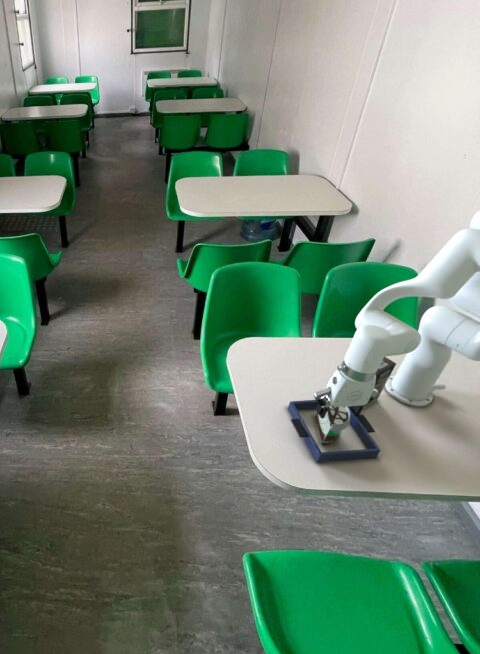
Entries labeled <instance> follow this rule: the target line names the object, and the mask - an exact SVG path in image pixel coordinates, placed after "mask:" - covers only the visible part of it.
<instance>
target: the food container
mask: <svg viewBox="0 0 480 654" xmlns="http://www.w3.org/2000/svg"><path fill="white" fill-rule="evenodd" d="M328 401H329V400H328V398H327V399H326V400H324V402H325V403H326V402H328ZM327 408H328V410H327V413H326V415H325V417H324V418H321V417H320V416H319V414H318V413H317V412H315V415H314V423H315V425H316V430H317V433H318V437H319V440H320V444H321V445H331V444H333V443H334V442H335V441H336V440H337V438H338V437H339V436H340V434H341V433H342V431H343V430H345V429H347V428H348V427H349V425H351V424H350V418H351V415H350V411H349V408H348V407H347V406H344V407H336V406H332V405H330V406H328V407H327Z"/></svg>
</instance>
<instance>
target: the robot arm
mask: <svg viewBox="0 0 480 654" xmlns="http://www.w3.org/2000/svg"><path fill="white" fill-rule="evenodd" d="M407 297H409V298H411V297H419V298H421V297H422V298H431V299H438V300H439V299H440V300H447V301H448V302H449V303H450V304H451V305H453V306H455V307H457V308H459V309H461V310H463V311H465V312H467V313H469V314H471V315H473V316H474V317H477V318H479V319H480V210H478V211H477V212H476V213H474V215H473V216H472V218H471V220H470V222H469V228H464V229H461V230H459V231H457V232H456V233H455V234H454V235H453V236H452V237H451V238H450V239H449V240H448V241H447V242H446V243H445V245H444V246H443V247H442V248H441V249H440V250H439V252H437V254H436V255H435V256H434V257H433V258H432V259H431V261H429V262H428V263H427V265H426V266H425V267H424V268H423V269H422V270H421V271H420V273H419V274H418V275H417V276H416V277H414V278H410V279H407V280H402V281H399V282H397V283H394V284H391V285H389V286H386V287H385V288H383V289H381V290H380V291H378V292H377V293H375V295H373V297H372V298H370V300H369V301H368V302H367V303H366V304H365V305H364V306H363V308H362V309H361V310H360V311H359V313H358V314H357V316H356V317H355V321H354V325H355V326H354V327H355V329H356V330H355V332H354V335H353V337H352V339H351V342H350V343H349V347H348V348H347V351H346V353H345V356H344V358H343V360H342V362H341V364H340V365H338V366H337V367H336V370H335V371H334V373H333V374H332V376H331V378H330V379H329V380H328V383H327V384H326V387H325V388H324V389H320V390H318V391H315V392H313V398H314V400H316V401H317V403H318V406H317V409H315V411H316V412H317V413H318V414H319V416H320V417H321V418H324V417H325V415H326V413H327V410H328V408H327V407H328V406H330V405H332V406H336V407H344V406H350V410H351V411H352V412H353V414H354V415H355V416H356V417H358V416H359V415H360V414H361V412H362V411H363V410H364V408H363V407H364V406H367V403H368V402H370V401H372V400H373V398H375V397H376V396H377V395H378V394H379V392H378V391H377V390H376V389H374V387H375V382H376V375H375V374H376V372H377V370H378V368H379V366H380V364H381V362H382V360H383V358H384V357H393V356H401V355H405V357H404V358H403V361H402V362H401V365H400V366H399V368H398V370H397V371H396V374H393V375H392V374H391V375H390V377H389V379H388V380H387V382H386V384H385V386H384V388H385V389H386V391H387V392H388V393H389V395H390V396H392V397H393V398H394V399H395V400H397V401H399V402H400V403H403V404H406V405H408V406H413V407H426V406H428V405H429V404H431V403H432V401H433V400H434V395H433V392H434V391H436V390H445V389H446V384H445V383H443V382H440V383H437V381H438V379H439V378H440V377H441V374H442V373H443V372H444V370H445V368H446V367H447V365H448V364H449V362H450V361H451V358H452V354H453V353H452V351H454V352H456V353H458V354H459V355H461V356H463V357H465V358H467V359H469V360H471V361H473V362H480V321H478V320H476V319H475V318H472V317H471V316H469V315H467V314H464V313H463V312H461V311H458V310H457V309H454V308H453V307H449V306H446V305H434V306H432V307H430V308H428V309H427V310H426V311H425V312H424V313H423V315H422V316H421V318H420V322H419V326H418V329H415V328H414V327H413V326H411V325H409V324H407V323H405V322H403V321H402V320H400V319H398V318H397V317H395V316H393V315H392V314H390V313H388V312H386V311H384V310H385V309H386V307H388V305H390V304H391V303H393V302H394V301H397V300H399V299H404V298H407ZM327 398H328V400H329V401H328V402H326V403H325V402H324V400H326V399H327ZM367 407H368V406H367ZM316 412H315V413H316Z"/></svg>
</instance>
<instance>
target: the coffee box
mask: <svg viewBox="0 0 480 654" xmlns="http://www.w3.org/2000/svg"><path fill="white" fill-rule="evenodd" d="M396 366H397V363H396V362H394V361H393V360H392V359H390V358H388V357H387V356H385V357H384V358H383V360H382V362H381V364H380V366H379V368H378V370H377V372H376V374H375V375H376V382H375V387H374V389H376V390H377V391H378V392H379V394H378V395H377V396H376V397H375V398H373V400H372V401H370V402H368V403H367V406H364V407H363V409H365V408H367V407H368V406H370V405H372V404H374V403H375V402H377V401H378V400H379V398H380V395H381V393H382V392H383V390H384V388H385V384H386V382H387V380H388V379H389V377H390V376H392V373H393V371H394V369H395V367H396Z"/></svg>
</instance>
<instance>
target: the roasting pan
mask: <svg viewBox="0 0 480 654" xmlns="http://www.w3.org/2000/svg"><path fill="white" fill-rule="evenodd" d="M317 406H318V403H317V401H316V400H315V399H307V400H306V399H305V400H292V401H291V400H290V401H289V403H288V405H287V411H288V412H289V414H290V417H291V419H290V422H291V425H293V428H294V429H295V431H296V433H297V435H298V437H299V438H302V439H303V441H304V442H305V444H306V446H307V448H308V449H309V452H310V453H311V455H312V458H313V459H314V460H315V462H316V463H328V462H343V461H358V460H370V459H371V460H372V459H377V458H378V456H379V454H380V452H381V451H382V450H381V449H380V448H379V446H378V444H377V443H376V441H374V439H373V438H372V435H370V434H371V433H375V432H376V430H375V428H374V427H373V425H371V423H370V421H369V420H368V419H367V418H366V415H364V414H363V413H360V414H359V416H358V417H356V416H355V415H354V414H353V412H352V411H351V410H350V406H347V407H348V408H349V411H350V415H351V418H350V424H349V425H350V426H351V428H352V429H353V430H354V432H355V433H356V435H357V436H358V438H359V440H360V441H361V442H362V444H363V445H364V447H365V448H364V449H361V448H360V449H348V450H347V449H346V450H333V451H321V449H320V447H319V445H318V444H317V442H316V440H315V438H314V437H313V435H312V433H311V431H310V429H309V428H308V426H307V424H306V422H305V421H304V419H303V416H302V415H301V413H300V412H299V411H309V410H310V411H311V410H316V409H317Z"/></svg>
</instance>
